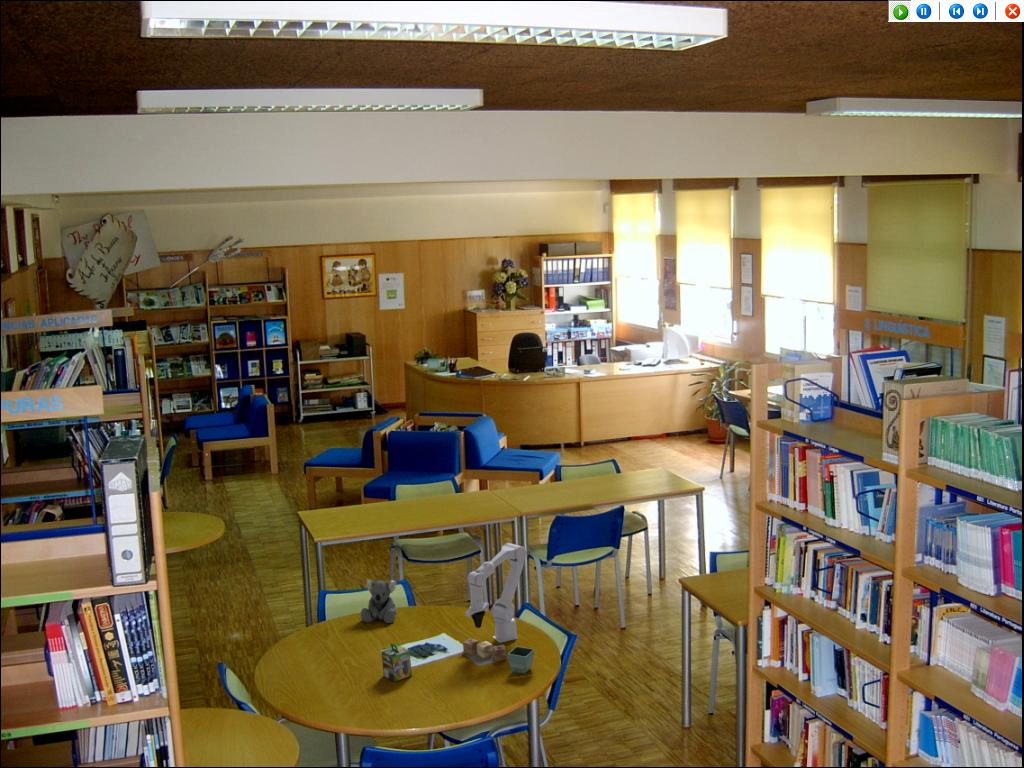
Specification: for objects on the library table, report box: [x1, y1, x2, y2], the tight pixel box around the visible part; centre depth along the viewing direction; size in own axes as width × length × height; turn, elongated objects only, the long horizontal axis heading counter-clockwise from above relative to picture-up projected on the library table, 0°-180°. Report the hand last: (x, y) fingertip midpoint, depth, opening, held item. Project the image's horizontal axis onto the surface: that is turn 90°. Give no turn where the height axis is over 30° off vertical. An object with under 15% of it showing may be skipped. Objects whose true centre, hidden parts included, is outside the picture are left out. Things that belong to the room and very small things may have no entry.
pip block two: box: [462, 638, 480, 655], centre depth 486 cm, size 5×5×5 cm
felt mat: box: [462, 644, 509, 667], centre depth 482 cm, size 15×18×1 cm
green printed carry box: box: [381, 642, 413, 683], centre depth 464 cm, size 9×9×15 cm
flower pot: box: [507, 646, 535, 674], centre depth 464 cm, size 9×9×9 cm
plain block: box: [477, 640, 493, 658], centre depth 482 cm, size 5×5×5 cm
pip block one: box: [493, 644, 507, 662], centre depth 477 cm, size 5×5×5 cm
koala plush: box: [360, 578, 397, 624], centre depth 532 cm, size 17×18×20 cm
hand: (478, 627), depth 488 cm, fingers closed
